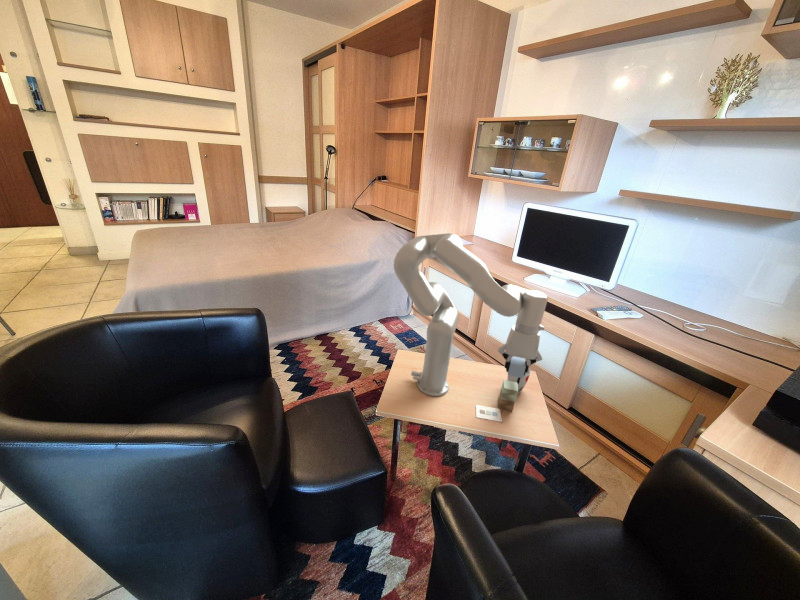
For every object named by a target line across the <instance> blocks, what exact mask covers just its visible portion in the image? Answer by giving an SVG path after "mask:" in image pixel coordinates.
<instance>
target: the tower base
mask: <svg viewBox="0 0 800 600" xmlns="http://www.w3.org/2000/svg"><path fill="white" fill-rule="evenodd" d="M501 384H502V385H501V389H500V392H499V395H498V398H497V399H498V400H497V409H500V411H505V412H507V413H513V410H514V407H515V403H516V401H517V397H518V394H519V393H518V383H517V382H512V381H508V379H503V381H502V383H501Z"/></svg>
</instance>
